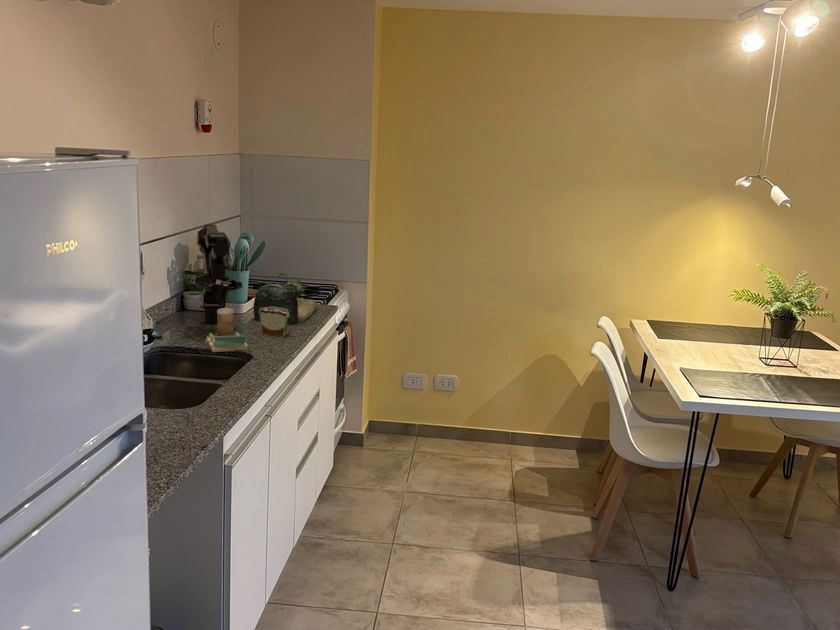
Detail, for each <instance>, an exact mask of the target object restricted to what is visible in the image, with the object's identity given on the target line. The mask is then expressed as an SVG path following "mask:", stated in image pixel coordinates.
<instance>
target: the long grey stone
mask: <svg viewBox="0 0 840 630" xmlns="http://www.w3.org/2000/svg"><path fill="white" fill-rule="evenodd" d="M297 302H298V323H302V322H301V321H303V322H305V321H306V320H308V319H309V318H310V317H311V316H312V315H313V314H314V312H315V311H316V309H317V307H318V306H317V301H316V300H314V299H308V298H304V297H298V298H297ZM314 310H315V311H314Z"/></svg>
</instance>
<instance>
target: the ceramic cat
mask: <svg viewBox="0 0 840 630" xmlns="http://www.w3.org/2000/svg"><path fill="white" fill-rule="evenodd" d="M281 276H284V277H285V283H283V284H281V283H278V282H275V281H273V280H265V281H262V282H260V284H259V285H258V287H257V291H256V293H255V295H254V302H253V317H254V320H255V321H257V320H258V321H259V322H261V320H260V313H259V310H260V308H264V307H280V308H285V309H287V310H288V312H289V317H288V318H287V323H289V324H288V325H293V324H295V325H296V323H297V324H299V322H298V302H297V298H300V296H302V294H303V291H304V289H303V288H304V287H303V285H302V284H301V282H300V279H297V280H296V281H295V282H290V281H289V280H287V278H288V277H287V276H286V274H284V273H280V274H279V275H278V278H279V277H281ZM265 283H268V284H265ZM269 283H270V284H269ZM263 284H265V285H263ZM258 313H259V314H258Z"/></svg>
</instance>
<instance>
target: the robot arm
mask: <svg viewBox="0 0 840 630" xmlns="http://www.w3.org/2000/svg"><path fill="white" fill-rule="evenodd" d="M196 235H197V236H196V244H197V246H198V250H199V252H200V253H201V254H202V255H203V260H204V261H203V262H204V269H205V273H201V272H198V273H196V275H195V279H194V282H195V283H194V284H195V285H197V286H200V287H201V288H203V292H202V294H201V299H200V300H201V303H200V304H201V307H202V309H204V314H203V315H204V319H203V320H201V323H205V324H212V325H217V310H218V309H224V308H226V307H227V306H226V305H227V303H226V302H227V295H228V293H229V292H232V291H236V290H240V289H243V282H242V281H240V280H236V279H231V280H230V277H229V276H227V271H228V270H229V266H227V263H226V258H227V256H228V255H229V251H230V248H229V247H230V244H231V242H230V240H229V238H228V236H227V235H226V233H225V232H223V231H219V229H218V227H217V224H211V223H210V224H207V223H206V224H203V225H202V228H201V229H200V230H198V231H197V234H196Z"/></svg>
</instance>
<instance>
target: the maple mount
mask: <svg viewBox="0 0 840 630" xmlns="http://www.w3.org/2000/svg"><path fill="white" fill-rule="evenodd" d="M206 342H207V345H208V346H209V348H210V347H211V348H210V350H211V351H212V353H214V352H215V353H216V352H217V353H218V352H220V353H221V352H236V350H237V352H239V351H238V350H243V351H249V349H248V348H249V347H248V344H247V343H246V336H245V335H244V334H240V333H239V332H238V331H234V335H231V336H216V335H214V334H213V332H208V336H207V335H206Z"/></svg>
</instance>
